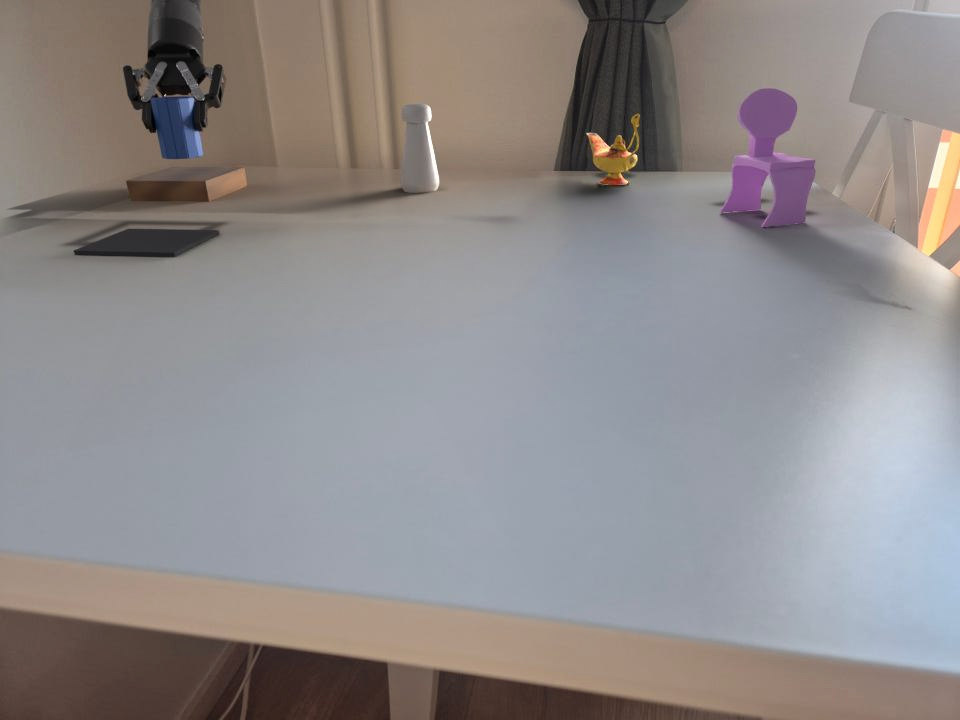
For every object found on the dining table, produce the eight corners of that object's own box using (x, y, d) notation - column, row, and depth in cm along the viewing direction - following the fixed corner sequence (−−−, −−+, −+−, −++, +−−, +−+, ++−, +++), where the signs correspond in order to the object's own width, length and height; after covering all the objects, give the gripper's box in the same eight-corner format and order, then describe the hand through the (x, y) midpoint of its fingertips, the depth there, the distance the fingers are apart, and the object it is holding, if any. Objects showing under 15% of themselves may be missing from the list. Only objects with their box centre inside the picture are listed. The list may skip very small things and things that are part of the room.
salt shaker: (430, 202, 97) (425, 106, 92) (394, 200, 99) (387, 105, 93) (446, 194, 102) (442, 102, 97) (411, 192, 104) (406, 102, 98)
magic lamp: (604, 171, 118) (608, 104, 113) (655, 190, 102) (662, 112, 98) (567, 174, 116) (570, 106, 112) (614, 193, 101) (619, 114, 96)
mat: (74, 254, 75) (73, 250, 75) (128, 232, 84) (127, 228, 84) (174, 257, 73) (173, 252, 73) (219, 234, 82) (218, 230, 82)
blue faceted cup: (154, 159, 97) (141, 99, 93) (175, 153, 102) (164, 96, 98) (191, 159, 96) (179, 98, 92) (210, 153, 101) (200, 96, 97)
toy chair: (758, 229, 80) (779, 92, 73) (712, 214, 87) (727, 89, 81) (815, 223, 82) (840, 89, 76) (765, 208, 89) (784, 86, 83)
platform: (132, 209, 97) (125, 180, 95) (177, 192, 108) (172, 166, 106) (210, 209, 95) (205, 181, 94) (248, 193, 106) (244, 167, 104)
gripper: (114, 16, 96) (110, 111, 91) (220, 15, 99) (222, 108, 93) (133, 56, 103) (130, 147, 98) (231, 55, 106) (233, 144, 100)
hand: (175, 128), depth 95 cm, fingers closed on blue faceted cup, 5 cm apart
